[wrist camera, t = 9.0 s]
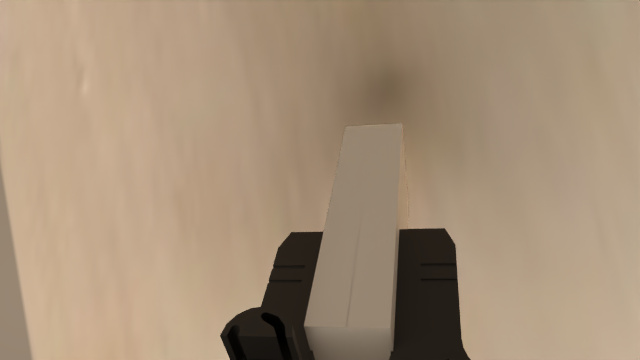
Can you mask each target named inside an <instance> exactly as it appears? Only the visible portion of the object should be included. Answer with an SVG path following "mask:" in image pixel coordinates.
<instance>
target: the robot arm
mask: <svg viewBox="0 0 640 360" xmlns="http://www.w3.org/2000/svg"><path fill="white" fill-rule="evenodd" d="M408 210H409V201H408V188H407V176H406V164H405V151H404V139H403V127H402V123H391V124H374V125H357V126H346V127H345V131H344V136H343V141H342V146H341V150H340V155H339V160H338V165H337V170H336V174H335V179H334V184H333V189H332V194H331V198H330V203H329V208H328V213H327V217H326V222H325V227H324V232H291V233H290V235H289V236H288V237H287V238H286V239H285V241H284V242H283V243H282V244H281V245H280V247H279V248H278V251H277V254H276V258H275V261H274V265H273V269H272V271H271V275H270V278H269V283H268V285H267V288H266V292H265V295H264V299H263V302H262V305H261V307H257V308H250V309H248V310H246V311H244V312H242V313H240V314H238V315H236V316H235V317H234V318H233V319H232V320H231V321H230V322H228V323H227V324H226V326H225V328H224V330H223V331H222V333H221V335H220V336H221V339H222V341H223V343H224V346H225V348H226V351H227V353H228V355H229V358H230V360H470V358H469V357H468V356H467V354H466V352H465V350H464V348H463V344H462V339H461V325H460V310H459V294H458V279H457V263H456V248H455V243H454V242H453V240H452V239H451V237H450V236H449V234H448V233H447V231H446V230H445V228H441V229H408Z"/></svg>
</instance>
